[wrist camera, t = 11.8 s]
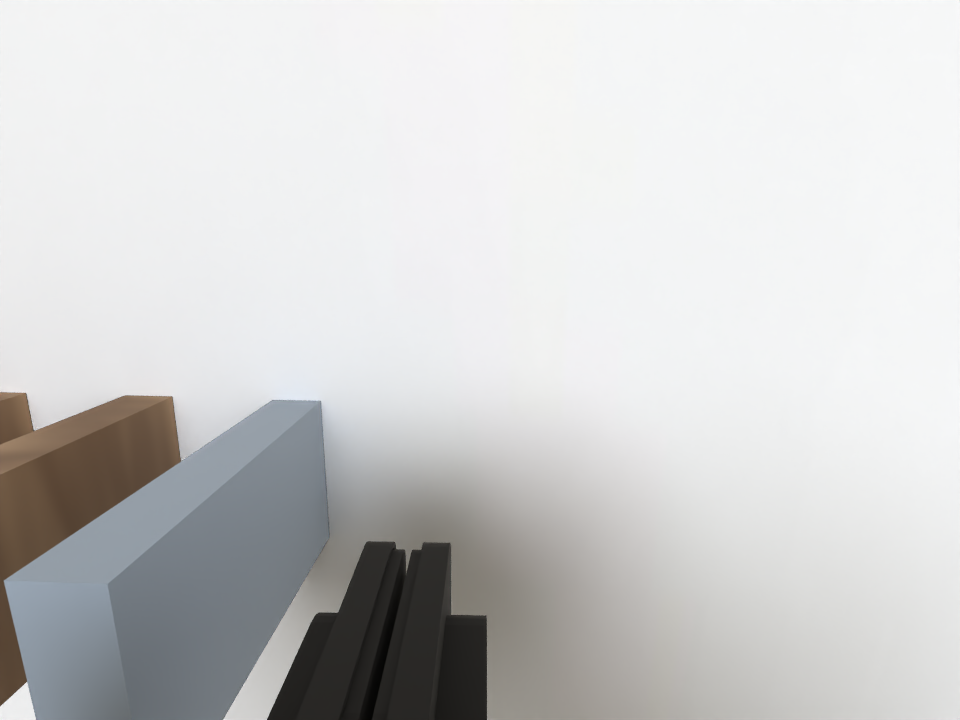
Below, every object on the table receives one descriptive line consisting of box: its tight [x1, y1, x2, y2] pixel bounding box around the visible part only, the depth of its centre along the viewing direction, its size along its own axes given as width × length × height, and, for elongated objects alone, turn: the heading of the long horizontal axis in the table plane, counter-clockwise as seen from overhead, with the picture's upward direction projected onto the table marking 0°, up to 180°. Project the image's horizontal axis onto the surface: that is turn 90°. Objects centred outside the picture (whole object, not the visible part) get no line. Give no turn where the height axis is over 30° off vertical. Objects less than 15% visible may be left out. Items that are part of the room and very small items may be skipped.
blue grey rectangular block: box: [4, 400, 329, 720], centre depth 12 cm, size 2×5×9 cm, turn 179°
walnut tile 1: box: [0, 396, 181, 706], centre depth 12 cm, size 2×5×9 cm, turn 179°
